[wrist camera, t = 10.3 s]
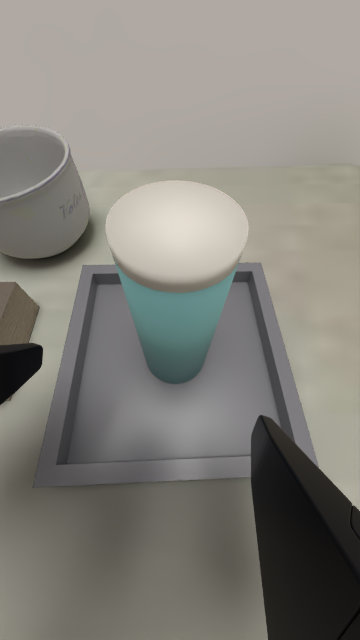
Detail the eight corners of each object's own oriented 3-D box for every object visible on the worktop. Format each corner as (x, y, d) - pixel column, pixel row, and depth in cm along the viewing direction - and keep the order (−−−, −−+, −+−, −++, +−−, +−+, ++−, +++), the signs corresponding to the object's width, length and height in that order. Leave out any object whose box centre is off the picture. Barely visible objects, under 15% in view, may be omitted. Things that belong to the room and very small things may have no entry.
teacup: (106, 260, 23) (76, 180, 16) (-10, 288, 21) (-101, 209, 14) (86, 184, 30) (58, 103, 23) (-5, 200, 28) (-66, 117, 21)
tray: (303, 470, 15) (320, 473, 13) (50, 482, 14) (32, 487, 12) (254, 276, 22) (260, 262, 21) (90, 279, 22) (82, 265, 20)
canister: (190, 394, 16) (218, 299, 6) (134, 367, 17) (74, 242, 7) (213, 342, 18) (265, 202, 8) (163, 320, 19) (150, 168, 9)
